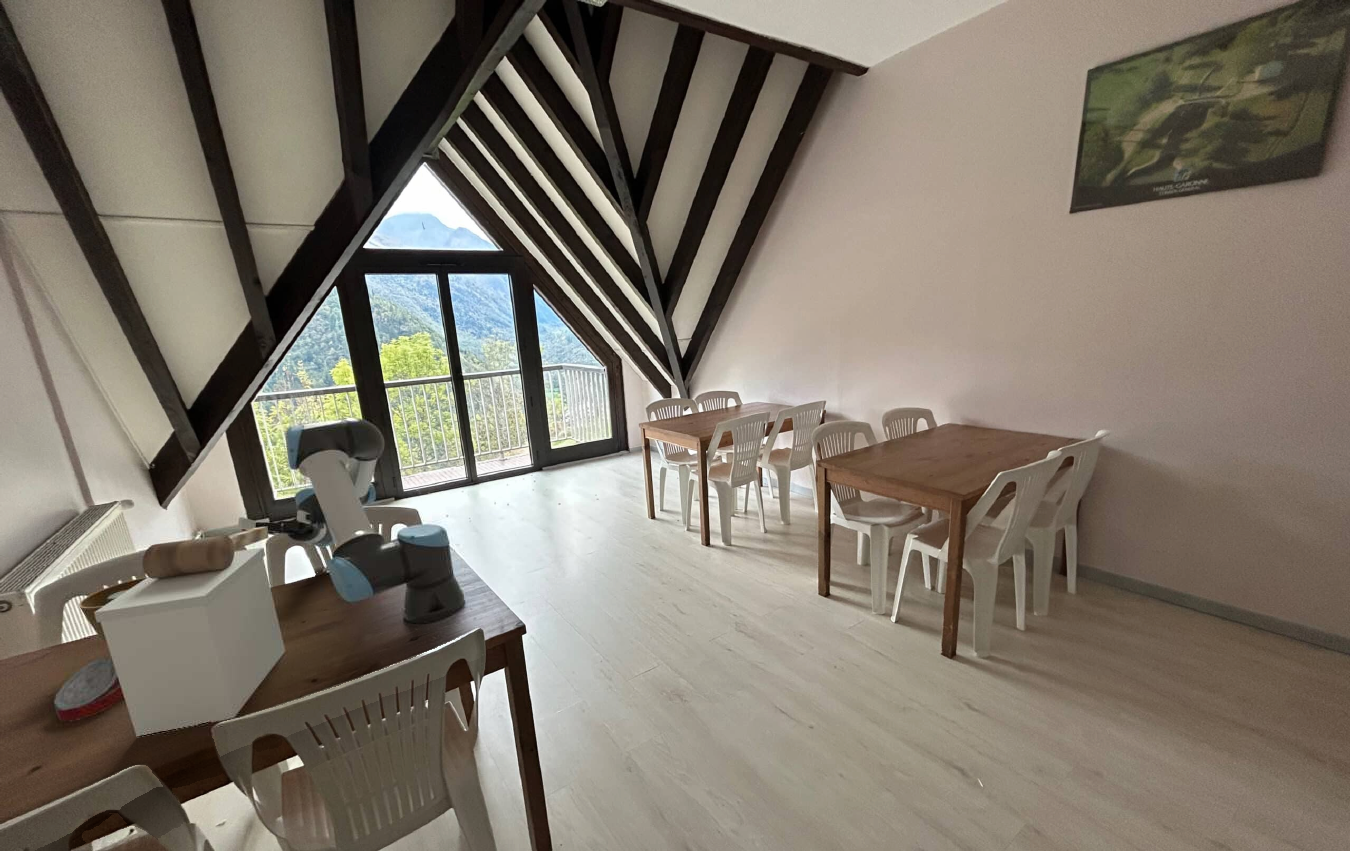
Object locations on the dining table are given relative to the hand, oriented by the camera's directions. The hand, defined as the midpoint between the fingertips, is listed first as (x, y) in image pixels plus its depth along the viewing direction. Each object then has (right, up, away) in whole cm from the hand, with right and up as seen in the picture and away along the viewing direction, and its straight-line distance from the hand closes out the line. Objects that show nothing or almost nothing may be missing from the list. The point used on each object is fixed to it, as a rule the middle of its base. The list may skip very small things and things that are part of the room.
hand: (269, 518), depth 137 cm
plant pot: (-24, -31, -10) cm, 40 cm away
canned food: (-14, -35, -29) cm, 47 cm away
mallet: (+6, -6, -19) cm, 21 cm away
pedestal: (+10, -32, -26) cm, 43 cm away
